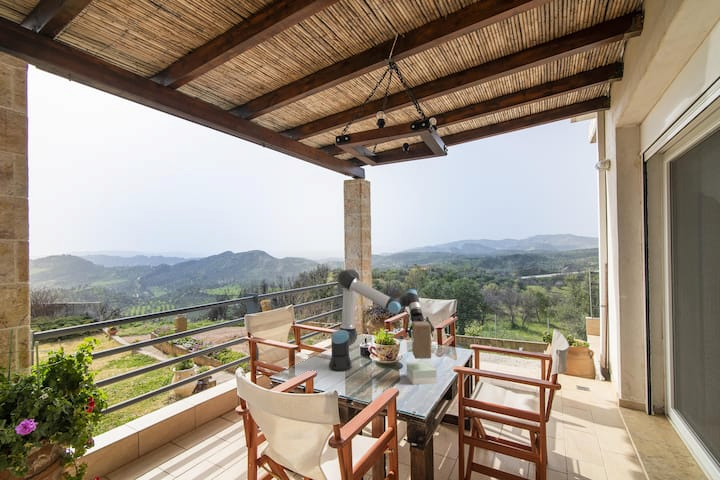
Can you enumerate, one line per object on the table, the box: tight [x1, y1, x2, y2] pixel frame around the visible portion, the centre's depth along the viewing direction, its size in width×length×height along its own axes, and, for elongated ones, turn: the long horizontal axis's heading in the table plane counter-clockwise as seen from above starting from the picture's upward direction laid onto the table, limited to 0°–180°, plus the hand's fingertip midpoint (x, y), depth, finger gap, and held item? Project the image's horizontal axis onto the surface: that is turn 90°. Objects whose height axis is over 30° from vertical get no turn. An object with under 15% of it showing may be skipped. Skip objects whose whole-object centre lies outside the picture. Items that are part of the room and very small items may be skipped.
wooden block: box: [411, 320, 432, 360], centre depth 196 cm, size 10×10×20 cm
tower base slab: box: [405, 369, 437, 386], centre depth 196 cm, size 14×14×4 cm
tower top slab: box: [406, 361, 437, 378], centre depth 196 cm, size 14×14×4 cm
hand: (422, 342), depth 193 cm, fingers closed on wooden block, 11 cm apart
